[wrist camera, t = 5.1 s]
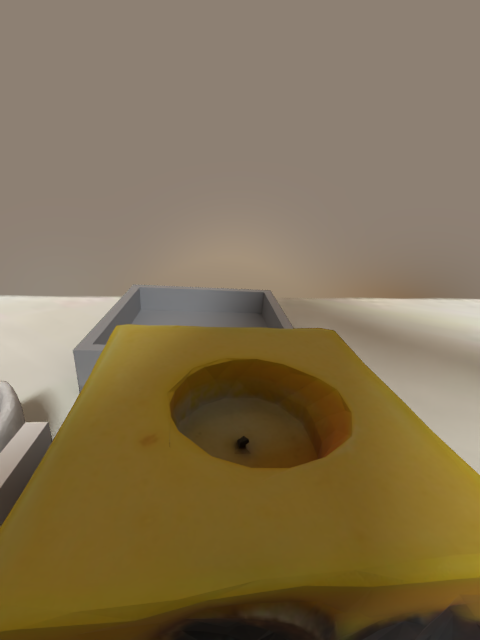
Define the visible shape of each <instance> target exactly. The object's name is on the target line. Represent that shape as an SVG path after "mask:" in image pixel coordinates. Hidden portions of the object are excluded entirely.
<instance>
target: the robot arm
mask: <svg viewBox="0 0 480 640" xmlns="http://www.w3.org/2000/svg"><path fill="white" fill-rule="evenodd" d="M51 443H52V437H51V432H50V428H49V423H48V422H25V424H24V425H23V426H22V427H21V429H20V430H19V431H18V432H17V433H16V435H15V436H14V437H13V438H12V439H11V441H10V442H9V443H8V444H7V445H6V447H5V448H4V449H3V450H2V452H1V453H0V527H1V525H2V524H3V522H4V521H5V519H6V517H7V516H8V514H9V513H10V511H11V509H12V508H13V506H14V505H15V503H16V501H17V500H18V498H19V497H20V495H21V493H22V492H23V490H24V488H25V487H26V485H27V483H28V482H29V480H30V478H31V477H32V475H33V473H34V472H35V470H36V468H37V467H38V465H39V463H40V462H41V460H42V458H43V457H44V455H45V453H46V452H47V450H48V448H49V446H50V445H51Z"/></svg>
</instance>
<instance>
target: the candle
mask: <svg viewBox="0 0 480 640" xmlns="http://www.w3.org/2000/svg"><path fill="white" fill-rule="evenodd" d="M0 640H480V475H479V474H478V473H477V472H476V471H475V470H473V469H472V468H471V467H470V466H469V465H468V464H467V463H466V462H465V461H464V460H463V459H462V458H461V457H459V456H458V455H457V454H456V453H455V452H454V451H453V450H452V449H451V448H450V447H449V446H448V445H447V444H445V443H444V442H443V441H442V440H441V439H440V438H439V437H438V436H437V435H436V434H435V433H434V432H433V431H432V430H431V429H430V428H429V427H428V426H427V425H426V424H425V423H424V422H423V421H422V420H421V419H420V418H419V417H418V416H417V415H416V414H415V413H414V412H413V411H412V410H411V409H410V408H409V407H408V406H407V405H406V404H405V403H404V402H403V401H402V400H401V399H400V398H399V397H398V396H397V395H396V394H395V393H394V392H393V391H392V390H391V389H390V388H389V387H388V386H387V385H386V384H385V383H384V382H383V381H382V380H381V379H380V378H379V377H378V376H376V375H375V374H374V373H373V372H372V371H371V370H370V369H369V368H368V367H367V366H366V365H365V364H364V363H363V362H362V360H361V359H360V358H359V357H358V356H357V355H356V354H355V353H354V352H353V351H352V349H351V348H350V347H349V346H348V345H347V344H346V343H345V342H344V341H343V340H342V339H341V337H340V336H339V335H338V334H337V333H336V332H335V331H334V330H328V329H322V328H297V329H279V328H262V327H200V326H179V325H134V324H126V325H117V326H116V327H115V328H114V330H113V332H112V333H111V335H110V337H109V339H108V341H107V344H106V345H105V347H104V349H103V351H102V353H101V354H100V356H99V358H98V360H97V361H96V364H95V366H94V368H93V370H92V372H91V374H90V376H89V378H88V379H87V381H86V383H85V385H84V387H83V389H82V390H81V392H80V394H79V396H78V398H77V400H76V401H75V403H74V405H73V407H72V408H71V410H70V412H69V414H68V415H67V417H66V419H65V421H64V422H63V424H62V426H61V427H60V429H59V431H58V433H57V434H56V436H55V438H54V440H53V441H52V443H51V445H50V446H49V448H48V450H47V452H46V453H45V455H44V457H43V458H42V460H41V462H40V463H39V465H38V467H37V468H36V470H35V472H34V473H33V475H32V477H31V478H30V480H29V482H28V483H27V485H26V487H25V488H24V490H23V492H22V493H21V495H20V497H19V498H18V500H17V501H16V503H15V505H14V506H13V508H12V509H11V511H10V513H9V514H8V516H7V517H6V519H5V521H4V522H3V524H2V525H1V527H0Z"/></svg>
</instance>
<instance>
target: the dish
mask: <svg viewBox="0 0 480 640" xmlns="http://www.w3.org/2000/svg"><path fill="white" fill-rule="evenodd" d="M24 424H25V419H24V414H23V410H22V407H21V403H20V401H19V399H18V396H17V394H16V393H15V391H14V389H13V388H12V387H11V386H10V384H9V383H8V382H6V381H0V453H1V452H2V450H3V449H4V448H5V447H6V445H7V444H8V443H9V442H10V441H11V439H12V438H13V437H14V436H15V435H16V433H17V432H18V431H19V430H20V429H21V427H22V426H23V425H24Z"/></svg>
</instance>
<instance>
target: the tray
mask: <svg viewBox="0 0 480 640" xmlns="http://www.w3.org/2000/svg"><path fill="white" fill-rule="evenodd" d="M126 324H134V325H179V326H200V327H262V328H279V329H294V328H293V326H292V325H291V323H290V321H289V320H288V318H287V317H286V315H285V313H284V312H283V310H282V309H281V307H280V305H279V304H278V302H277V300H276V299H275V297H274V296H273V294H272V292H271V291H270V290H249V289H224V288H201V287H178V286H176V287H175V286H152V285H133V286H132V287H131V288H130V289H129V290H128V291H127V292H126V293H125V294H124V295H123V296H122V297H121V299H120V300H119V301H118V302H117V303H116V304H115V305H114V306H113V307H112V308H111V309H110V311H109V312H108V313H107V314H106V315H105V316H104V317H103V318H102V319H101V320H100V321H99V322H98V324H97V325H96V326H95V327H94V328H93V329H92V330H91V331H90V332H89V333H88V334H87V335H86V337H85V338H84V339H83V340H82V341H81V342H80V343H79V344H78V345H77V346H76V347H75V348H74V350H73V353H74V360H75V366H76V372H77V379H78V385H79V391H80V392H81V390H82V389H83V387H84V385H85V383H86V381H87V379H88V378H89V376H90V374H91V372H92V370H93V368H94V366H95V364H96V361H97V360H98V358H99V356H100V354H101V353H102V351H103V349H104V347H105V345H106V344H107V341H108V339H109V337H110V335H111V333H112V332H113V330H114V328H115V327H116V326H117V325H126Z"/></svg>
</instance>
